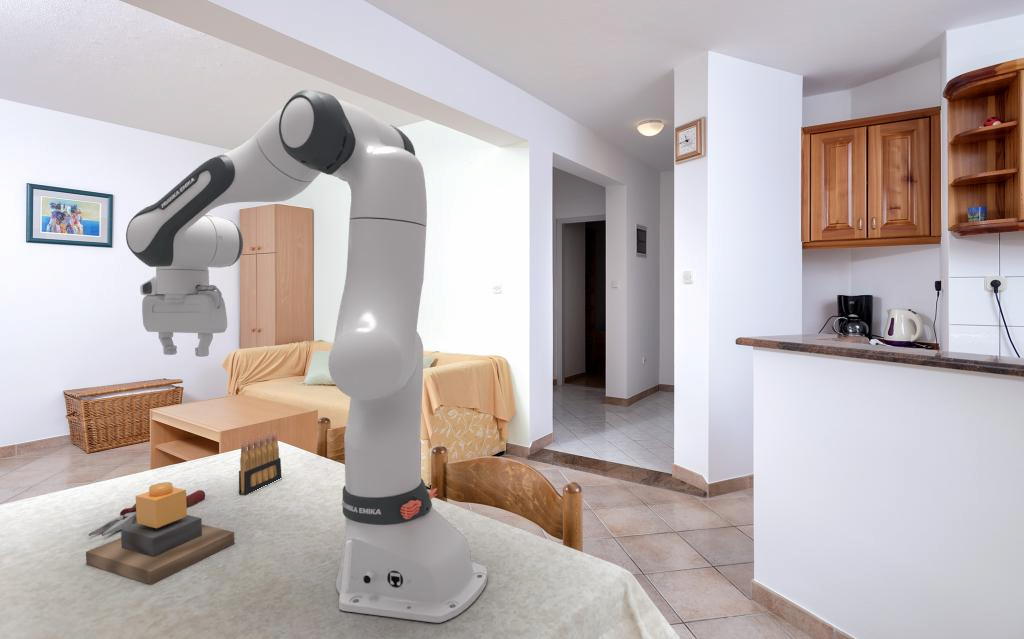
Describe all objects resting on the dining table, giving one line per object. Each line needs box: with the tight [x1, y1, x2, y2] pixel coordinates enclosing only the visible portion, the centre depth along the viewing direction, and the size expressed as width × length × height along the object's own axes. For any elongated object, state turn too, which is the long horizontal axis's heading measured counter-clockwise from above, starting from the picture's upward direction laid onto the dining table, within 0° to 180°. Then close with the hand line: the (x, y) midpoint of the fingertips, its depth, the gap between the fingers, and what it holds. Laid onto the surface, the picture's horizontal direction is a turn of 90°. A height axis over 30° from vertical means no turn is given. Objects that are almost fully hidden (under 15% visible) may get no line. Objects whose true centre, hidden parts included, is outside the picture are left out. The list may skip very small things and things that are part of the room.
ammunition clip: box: [238, 428, 283, 496], centre depth 117 cm, size 11×2×12 cm, turn 161°
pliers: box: [88, 489, 206, 537], centre depth 102 cm, size 12×20×3 cm, turn 171°
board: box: [85, 514, 235, 585], centre depth 86 cm, size 16×14×10 cm
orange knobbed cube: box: [135, 481, 188, 528], centre depth 86 cm, size 5×5×6 cm
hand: (185, 355), depth 103 cm, fingers open, 8 cm apart
